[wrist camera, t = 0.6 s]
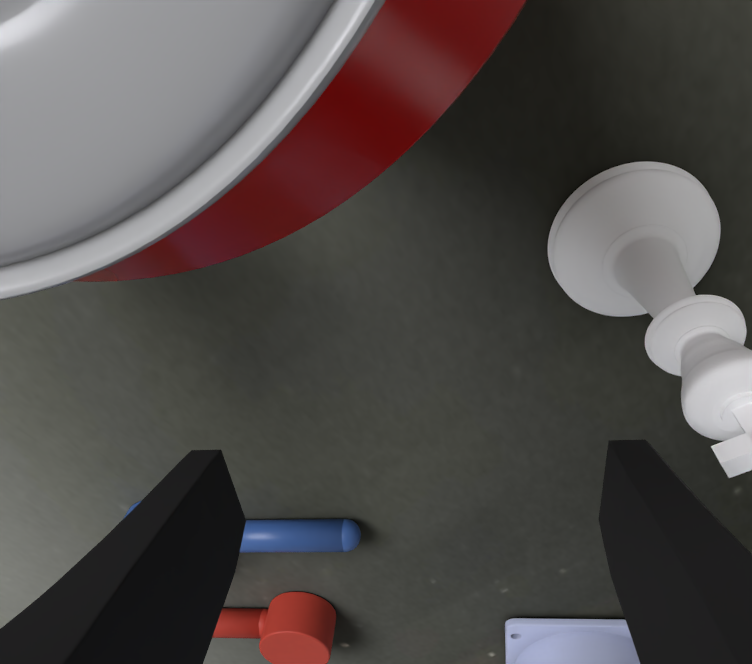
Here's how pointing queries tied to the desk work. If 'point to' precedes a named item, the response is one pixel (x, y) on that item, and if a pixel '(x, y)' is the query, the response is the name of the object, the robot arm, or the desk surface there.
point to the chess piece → (662, 289)
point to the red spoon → (285, 628)
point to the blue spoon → (298, 535)
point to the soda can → (209, 122)
